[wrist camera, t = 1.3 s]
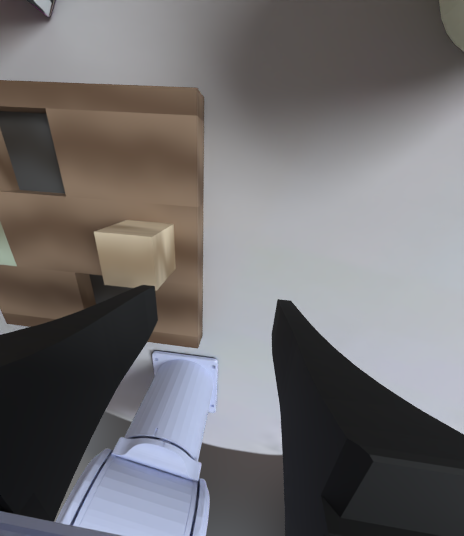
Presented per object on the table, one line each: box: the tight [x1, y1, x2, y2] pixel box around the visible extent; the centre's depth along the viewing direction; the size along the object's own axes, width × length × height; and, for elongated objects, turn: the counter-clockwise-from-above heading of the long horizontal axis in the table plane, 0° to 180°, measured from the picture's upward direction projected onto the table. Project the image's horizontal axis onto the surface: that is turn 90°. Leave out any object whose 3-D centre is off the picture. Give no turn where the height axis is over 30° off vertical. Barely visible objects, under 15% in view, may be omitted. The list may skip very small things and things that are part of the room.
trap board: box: [0, 80, 204, 348], centre depth 20 cm, size 22×22×2 cm
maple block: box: [94, 220, 176, 291], centre depth 17 cm, size 4×4×4 cm
